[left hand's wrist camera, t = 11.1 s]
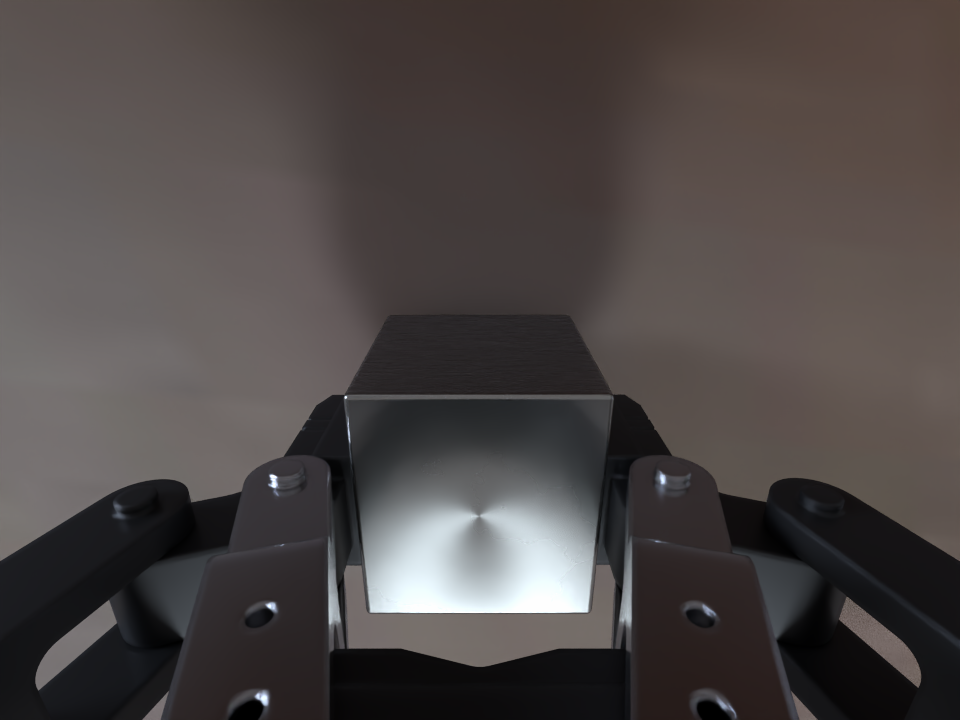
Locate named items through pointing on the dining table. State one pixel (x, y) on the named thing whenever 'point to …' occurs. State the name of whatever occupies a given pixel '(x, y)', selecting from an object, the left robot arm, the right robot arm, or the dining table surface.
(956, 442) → the dining table surface
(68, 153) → the dining table surface
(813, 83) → the dining table surface
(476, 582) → the block
